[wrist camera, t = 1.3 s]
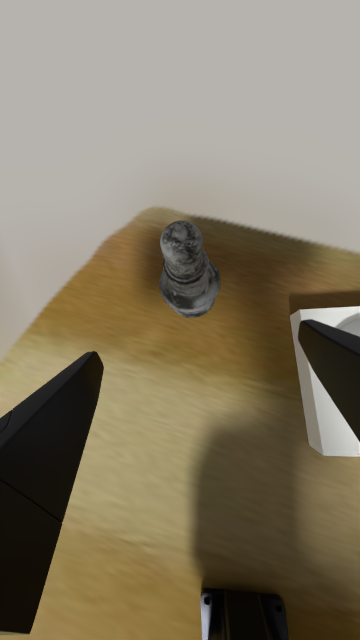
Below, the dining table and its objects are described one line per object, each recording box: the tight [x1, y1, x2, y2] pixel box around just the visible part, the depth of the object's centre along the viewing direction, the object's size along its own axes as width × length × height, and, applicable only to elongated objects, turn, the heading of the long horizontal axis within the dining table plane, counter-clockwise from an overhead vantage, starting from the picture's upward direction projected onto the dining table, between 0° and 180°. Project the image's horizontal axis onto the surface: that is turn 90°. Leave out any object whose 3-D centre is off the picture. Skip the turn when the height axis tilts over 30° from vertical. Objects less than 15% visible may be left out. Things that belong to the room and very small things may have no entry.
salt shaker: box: [159, 221, 220, 318], centre depth 18 cm, size 6×6×12 cm
